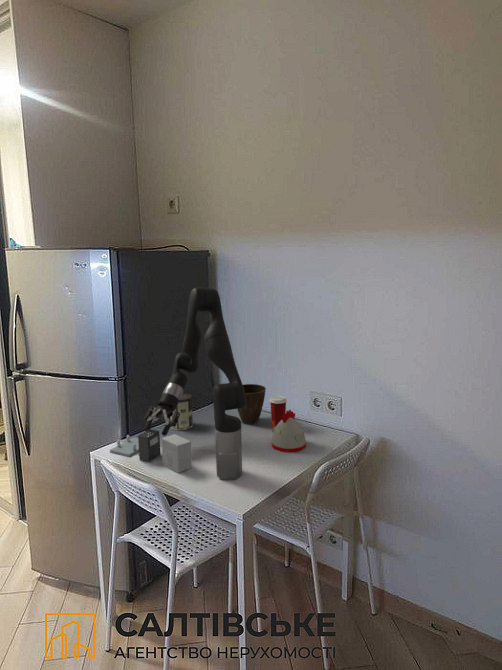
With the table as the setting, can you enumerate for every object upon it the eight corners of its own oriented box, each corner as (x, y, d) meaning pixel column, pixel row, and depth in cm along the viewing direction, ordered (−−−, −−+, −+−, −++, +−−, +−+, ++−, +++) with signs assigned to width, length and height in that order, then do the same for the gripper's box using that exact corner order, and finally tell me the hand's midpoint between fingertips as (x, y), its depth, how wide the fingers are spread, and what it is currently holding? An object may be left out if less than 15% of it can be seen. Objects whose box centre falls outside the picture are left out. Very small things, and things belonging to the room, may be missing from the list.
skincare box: (192, 467, 172) (191, 440, 170) (178, 473, 168) (177, 446, 166) (176, 459, 180) (175, 433, 178) (162, 464, 175) (160, 438, 173)
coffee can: (183, 420, 221) (182, 391, 218) (197, 425, 214) (196, 396, 211) (165, 426, 213) (164, 397, 211) (179, 432, 206) (178, 401, 204)
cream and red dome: (264, 446, 190) (264, 410, 188) (285, 436, 200) (285, 402, 198) (291, 455, 181) (291, 418, 178) (312, 444, 191) (312, 409, 188)
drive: (151, 453, 185) (149, 429, 184) (160, 455, 183) (159, 431, 181) (139, 460, 179) (137, 435, 177) (149, 462, 177) (147, 437, 175)
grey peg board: (133, 439, 199) (133, 431, 198) (152, 443, 194) (151, 435, 194) (109, 452, 187) (109, 444, 186) (129, 456, 182) (128, 448, 182)
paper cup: (290, 426, 211) (289, 396, 208) (281, 432, 204) (281, 401, 202) (274, 423, 215) (274, 394, 212) (266, 429, 208) (266, 398, 206)
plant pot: (251, 413, 228) (250, 382, 225) (272, 421, 217) (272, 388, 215) (227, 421, 218) (226, 388, 216) (249, 429, 207) (248, 395, 205)
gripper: (152, 390, 191) (135, 426, 183) (181, 394, 184) (164, 432, 177) (161, 398, 197) (145, 434, 189) (189, 403, 190) (173, 440, 182)
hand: (154, 433), depth 183 cm, fingers open, 8 cm apart
